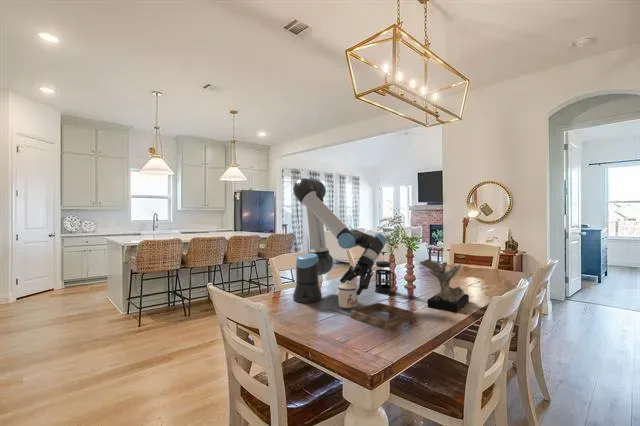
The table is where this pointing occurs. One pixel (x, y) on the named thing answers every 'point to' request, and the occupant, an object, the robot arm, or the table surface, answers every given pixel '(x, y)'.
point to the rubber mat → (344, 309)
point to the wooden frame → (361, 315)
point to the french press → (383, 287)
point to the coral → (446, 288)
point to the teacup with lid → (347, 295)
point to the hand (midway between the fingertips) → (345, 297)
